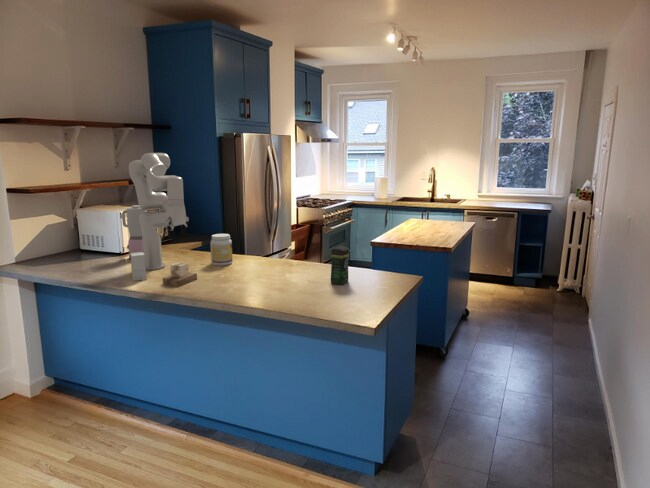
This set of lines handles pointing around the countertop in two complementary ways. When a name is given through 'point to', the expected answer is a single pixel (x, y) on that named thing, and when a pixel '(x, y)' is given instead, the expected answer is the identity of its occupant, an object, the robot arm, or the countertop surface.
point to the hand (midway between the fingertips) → (177, 236)
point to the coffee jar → (339, 265)
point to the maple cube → (179, 270)
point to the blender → (134, 228)
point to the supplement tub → (221, 249)
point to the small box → (138, 266)
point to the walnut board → (179, 279)
